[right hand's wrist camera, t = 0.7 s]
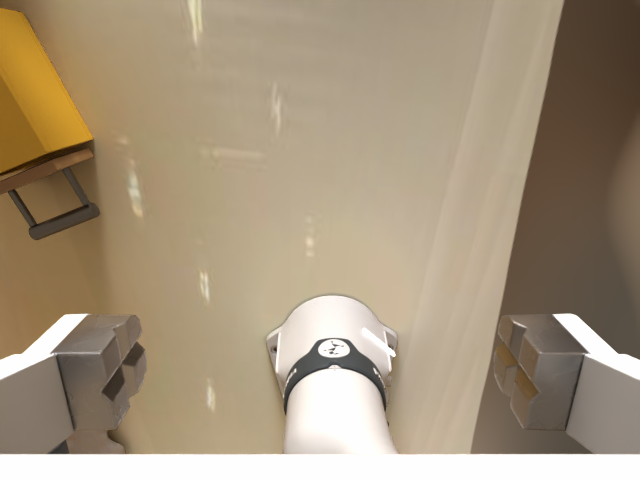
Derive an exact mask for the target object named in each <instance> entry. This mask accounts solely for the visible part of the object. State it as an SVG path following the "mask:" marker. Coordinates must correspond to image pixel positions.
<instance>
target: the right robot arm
mask: <svg viewBox="0 0 640 480" xmlns="http://www.w3.org/2000/svg"><path fill="white" fill-rule="evenodd" d="M141 334H142V329H141V324H140V319H139V318H138V317H137V316H136V315H111V314H68V315H64V316H63V317H61V318H60V319H59V320H58V321H57V322H56V323H55V324H54V325H53V326H52V327H51V328H50V329H48V330H47V331H46V332H45V333H44V334H43V335H42V336H41V337H40V338H39V339H38V340H37V341H35V342H34V343H33V344H32V345H31V346H30V347H29V348H28V349H27V350H26V351H25V352H24V353H23V354H14V355H11V356H9V357H7V358H4V359H2V360H0V480H640V360H638V359H636V358H633V357H631V356H629V355H626V354H617V353H616V352H615V351H614V350H613V349H612V348H611V347H610V346H609V345H608V344H607V343H606V342H605V341H603V340H602V339H601V338H600V337H599V336H598V335H597V334H596V333H595V332H594V331H593V330H592V329H590V328H589V327H588V326H587V325H586V324H585V323H584V322H583V321H582V320H581V319H580V318H579V317H578V316H576V315H573V314H539V315H506V316H502V319H501V321H500V323H499V329H498V334H499V335H500V337H501V338H502V340H503V342H502V343H501V344H500V345H499V346H498V347H497V348H496V349H495V354H494V362H493V364H494V373H495V378H496V381H497V384H498V386H499V388H500V389H501V391H502V392H503V393H504V394H506V395H508V396H509V397H511V398H512V399H511V405H510V407H511V409H512V410H513V412H514V414H515V416H516V417H517V419H518V421H519V422H520V424H521V426H522V427H523V429H524V430H560V431H566V433H567V434H568V435H570V436H571V437H572V438H574V439H575V440H576V441H577V442H579V443H580V444H581V445H583V446H584V447H585V448H587V449H588V450H589V451H591V452H592V453H593V454H399V453H398V451H397V450H396V448H395V446H394V443H393V440H392V437H391V434H390V430H389V427H388V426H389V423H388V421H387V420H386V415H385V410H386V407H387V406H388V403H389V392H388V391H387V390H385V386H387V387H390V386H391V376H388V375H389V373H390V372H391V365H392V361H393V358H394V356H395V350H396V347H397V343H398V338H397V335H396V333H395V332H394V331H392V330H391V329H389V328H387V327H385V326H384V325H382V324H381V323H380V322H379V321H378V319H377V318H376V317H375V315H374V314H373V313H372V312H371V311H370V310H369V309H368V308H367V307H366V306H364V305H363V304H361V303H360V302H358V301H356V300H353V299H351V298H347V297H343V296H322V297H318V298H314V299H311V300H309V301H307V302H305V303H303V304H302V305H300V306H299V307H298V308H296V309H295V310H294V311H293V312H292V313H291V315H290V316H289V317H288V319H287V320H286V322H285V323H284V324H283V325H282V326H281V327H279V328H278V329H276V330H274V331H273V332H271V333H270V334H269V335H268V336H267V341H266V344H267V348H268V351H269V354H270V358H271V361H272V364H273V368H274V371H275V374H276V378H277V381H278V384H279V387H280V391H281V394H282V397H283V401H284V411H285V415H286V423H285V433H284V444H283V454H47V453H48V452H50V451H51V450H52V449H53V448H55V447H56V446H57V445H59V444H60V443H61V442H63V441H64V440H65V439H67V438H68V437H69V436H71V435H72V434H73V433H74V431H80V430H115V429H117V428H118V426H119V424H120V422H121V421H122V419H123V417H124V416H125V414H126V412H127V410H128V409H129V407H130V405H129V399H128V398H129V397H131V396H132V395H134V394H136V393H137V392H138V391H139V389H140V387H141V386H142V384H143V381H144V377H145V373H146V353H145V349H144V348H143V347H142V346H141V345H140V344H139V343H138V342H137V340H138V338H139V337H140V335H141ZM388 345H389V347H388ZM275 347H277V349H275Z"/></svg>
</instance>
